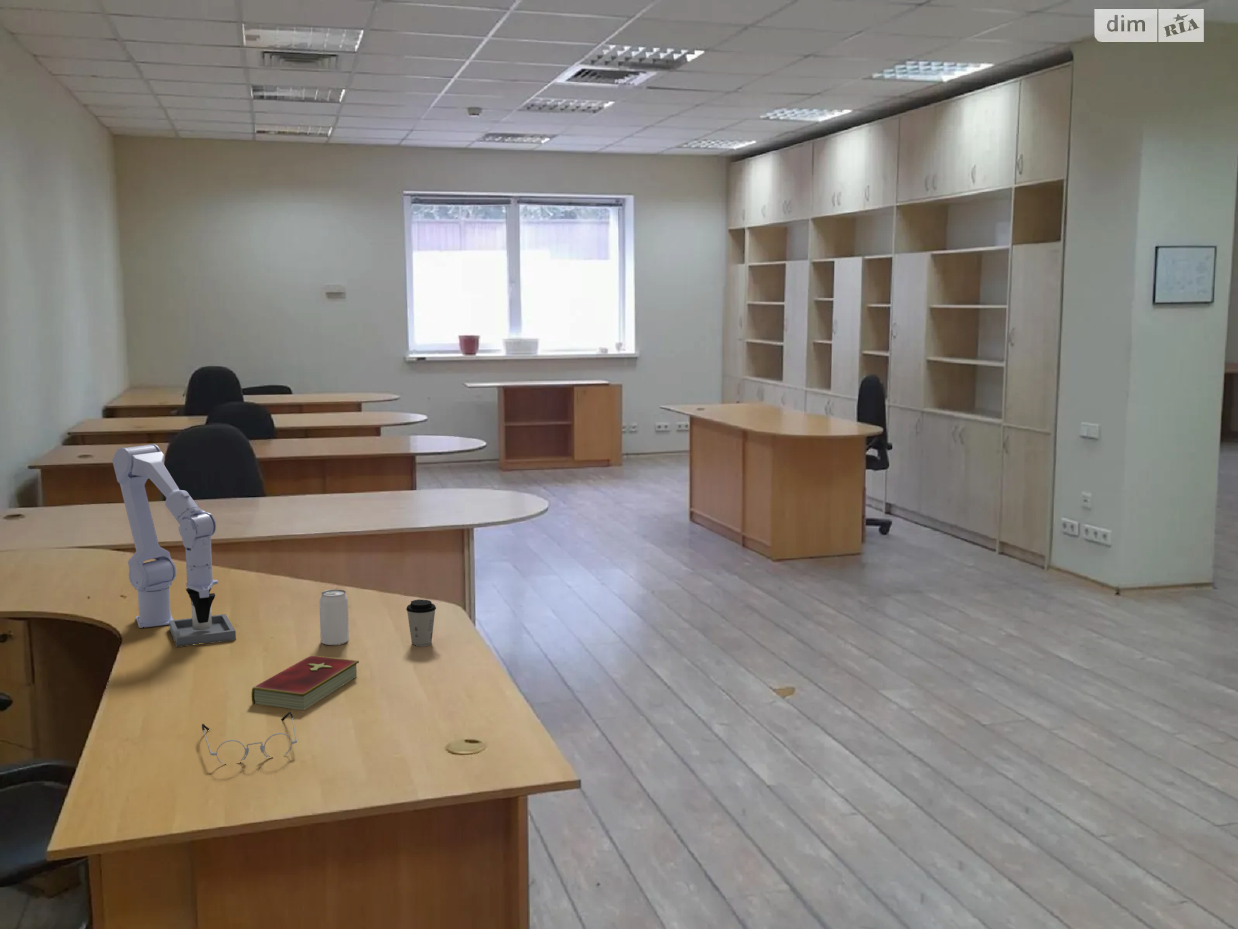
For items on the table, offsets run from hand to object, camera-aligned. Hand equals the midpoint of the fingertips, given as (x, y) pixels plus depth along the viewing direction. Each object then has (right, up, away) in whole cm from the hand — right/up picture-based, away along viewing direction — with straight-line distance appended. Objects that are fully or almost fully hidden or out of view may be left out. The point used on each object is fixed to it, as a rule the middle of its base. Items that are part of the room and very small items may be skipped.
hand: (201, 619), depth 258 cm
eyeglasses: (+33, -14, -61) cm, 70 cm away
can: (+33, -5, -3) cm, 33 cm away
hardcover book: (+35, -10, -34) cm, 50 cm away
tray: (0, -4, +1) cm, 4 cm away
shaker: (0, -2, 0) cm, 2 cm away
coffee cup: (+53, -5, -3) cm, 54 cm away
